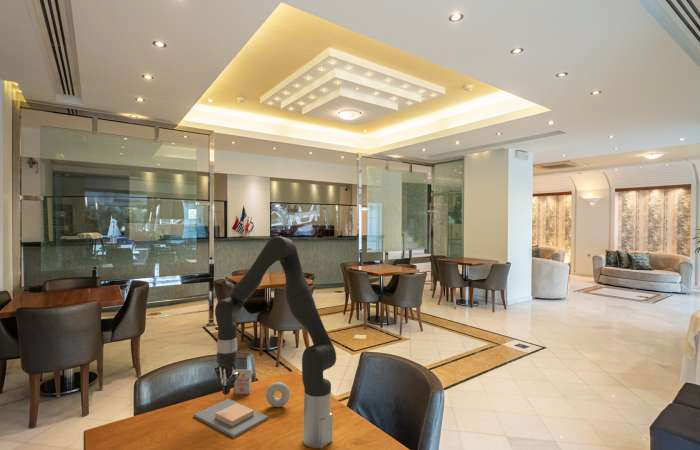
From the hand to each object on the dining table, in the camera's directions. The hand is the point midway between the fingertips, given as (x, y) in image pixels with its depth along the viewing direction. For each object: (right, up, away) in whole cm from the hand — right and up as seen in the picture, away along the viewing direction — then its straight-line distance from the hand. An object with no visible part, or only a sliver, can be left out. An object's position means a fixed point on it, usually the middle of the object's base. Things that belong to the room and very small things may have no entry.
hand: (226, 393), depth 142 cm
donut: (+19, -9, +8) cm, 22 cm away
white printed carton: (0, -9, +20) cm, 22 cm away
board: (+2, -8, -2) cm, 9 cm away
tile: (+4, -6, -3) cm, 8 cm away
